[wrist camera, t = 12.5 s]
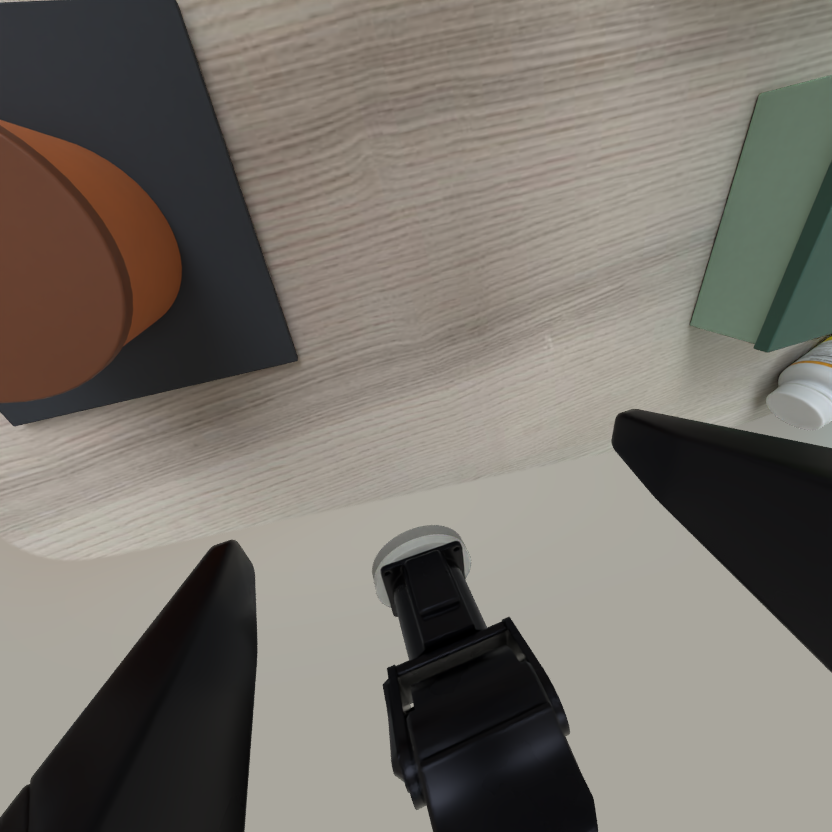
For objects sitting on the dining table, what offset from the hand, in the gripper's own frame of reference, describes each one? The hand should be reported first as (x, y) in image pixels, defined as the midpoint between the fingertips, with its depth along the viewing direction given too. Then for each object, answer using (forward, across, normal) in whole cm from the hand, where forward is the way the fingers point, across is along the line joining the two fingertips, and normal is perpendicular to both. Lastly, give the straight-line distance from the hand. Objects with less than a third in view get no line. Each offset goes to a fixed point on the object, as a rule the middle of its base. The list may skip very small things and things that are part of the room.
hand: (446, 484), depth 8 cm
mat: (+12, +9, -6) cm, 16 cm away
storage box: (+12, -27, -1) cm, 29 cm away
